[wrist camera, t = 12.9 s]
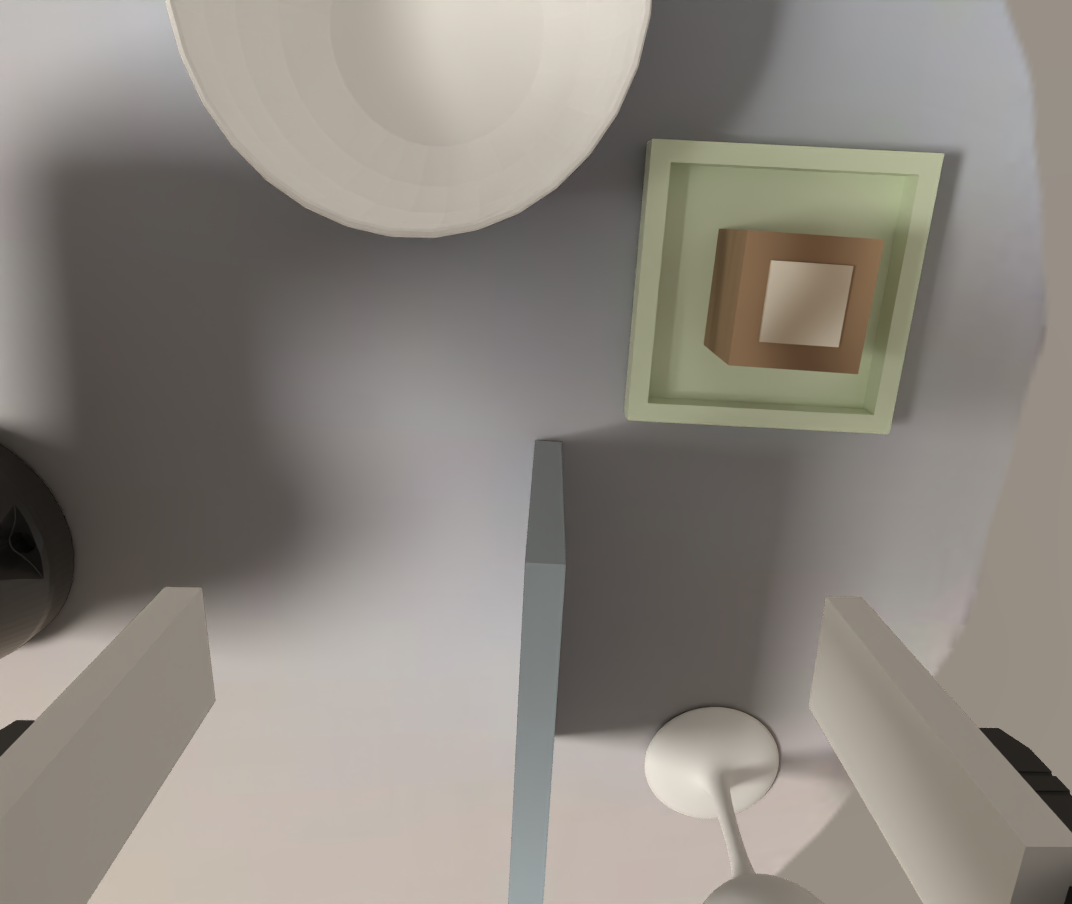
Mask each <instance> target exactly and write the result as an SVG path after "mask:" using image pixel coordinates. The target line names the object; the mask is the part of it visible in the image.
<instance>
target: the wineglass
mask: <svg viewBox="0 0 1072 904" xmlns="http://www.w3.org/2000/svg"><path fill="white" fill-rule="evenodd" d="M778 766H779V754H778V749H777V745H776V743H775V740H774V738H773V737H772V735H771V733H770V732H769V731H768V729H767V728H766V727H765V726H764V725H763V724H762V723H760V722H759V721H758V720H757V719H755V718H753V717H752V716H750V715H748V714H746V713H744V712H741V711H738V710H735V709H731V708H724V707H705V708H699V709H695V710H691V711H688V712H685V713H683V714H681V715H679V716H677V717H675V718H673V719H672V720H670V721H669V722H668V723H666V724H665V725H664V726H663V727H662V728H661V729H660V730H659V731H658V732H657V733H656V735H655V736H654V737H653V739H652V741H651V742H650V744H649V747H648V749H647V752H646V756H645V775H646V779H647V782H648V784H649V786H650V788H651V790H652V791H653V793H654V794H655V796H656V797H657V798H658V799H659V800H660V801H661V802H662V803H664V804H665V805H666V806H668V807H669V808H671V809H673V810H674V811H676V812H679V813H681V814H684V815H687V816H691V817H696V818H705V819H713V818H718V819H719V822H720V825H721V828H722V831H723V835H724V838H725V842H726V846H727V850H728V854H729V858H730V863H731V869H732V879H731V880H729V881H727V882H725V883H724V884H722V885H721V886H720V887H718V888H717V889H716V890H714V891H713V892H712V893H711V894H710V896H709V897H708V898H707V899H706V900H705V901H704V903H703V904H824V903H823V902H822V901H821V900H820V899H819V898H817V897H816V896H815V895H814V894H812V893H811V892H810V891H808V890H806V889H805V888H803V887H801V886H800V885H798V884H796V883H794V882H792V881H789V880H787V879H784V878H781V877H778V876H773V875H768V874H756V873H755V872H754V870H753V868H752V865H751V863H750V861H749V858H748V856H747V853H746V850H745V847H744V844H743V841H742V838H741V835H740V832H739V828H738V824H737V821H736V817H735V814H737V813H739V812H742V811H744V810H746V809H748V808H749V807H751V806H752V805H754V804H755V803H757V802H758V801H759V800H760V799H761V798H762V797H763V796H764V795H765V794H766V793H767V791H768V790H769V789H770V787H771V786H772V784H773V782H774V780H775V778H776V775H777V771H778Z"/></svg>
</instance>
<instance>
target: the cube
mask: <svg viewBox="0 0 1072 904" xmlns="http://www.w3.org/2000/svg"><path fill="white" fill-rule="evenodd" d="M883 245H884V239H870V238H855V237H841V236H826V235H812V234H797V233H783V232H768V231H754V230H736V229H719V231H718V239H717V246H716V254H715V262H714V269H713V277H712V284H711V292H710V299H709V307H708V314H707V322H706V329H705V337H704V346H706V347H707V348H708V349H709V350H710V351H712V352H713V353H714V354H715V355H716V356H718V357H719V358H720V359H721V360H723V361H724V362H725V363H726V364H727V365H731V366H746V367H760V368H775V369H789V370H803V371H818V372H832V373H847V374H858V372H859V367H860V362H861V357H862V352H863V347H864V341H865V336H866V331H867V326H868V321H869V316H870V311H871V306H872V301H873V296H874V290H875V285H876V280H877V275H878V270H879V265H880V260H881V255H882V250H883Z"/></svg>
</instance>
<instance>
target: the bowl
mask: <svg viewBox="0 0 1072 904" xmlns="http://www.w3.org/2000/svg"><path fill="white" fill-rule="evenodd" d="M165 2H166V6H167V10H168V14H169V17H170V21H171V24H172V28H173V31H174V35H175V39H176V42H177V46H178V49H179V53H180V56H181V58H182V61H183V63H184V65H185V67H186V69H187V71H188V73H189V75H190V78H191V80H192V82H193V84H194V86H195V88H196V90H197V93H198V95H199V97H200V99H201V101H202V103H203V105H204V106H205V108H206V109H207V111H208V112H209V113H210V115H211V116H212V118H213V119H214V121H215V122H216V124H217V125H218V126H219V128H220V129H221V131H222V132H223V134H224V135H225V137H226V138H227V139H228V141H229V142H230V144H231V145H232V146H233V147H234V148H235V149H236V150H237V151H238V152H239V153H240V154H241V155H242V156H243V157H244V158H245V160H246V161H247V162H248V163H249V164H250V165H251V166H252V167H253V168H254V169H255V170H256V171H257V172H258V173H259V174H260V175H261V176H262V177H263V178H264V179H265V180H266V181H268V182H269V183H270V184H272V185H273V186H275V187H276V188H278V189H279V190H280V191H282V192H283V193H285V194H286V195H288V196H289V197H290V198H292V199H293V200H295V201H296V202H297V203H299V204H300V205H302V206H303V207H305V208H307V209H309V210H311V211H313V212H315V213H318V214H320V215H322V216H324V217H326V218H329V219H331V220H333V221H335V222H338V223H340V224H342V225H344V226H346V227H350V228H355V229H359V230H363V231H367V232H372V233H376V234H380V235H384V236H389V237H413V238H437V237H443V236H449V235H454V234H460V233H465V232H471V231H476V230H479V229H482V228H484V227H487V226H489V225H492V224H494V223H497V222H499V221H502V220H504V219H507V218H509V217H512V216H514V215H517V214H519V213H520V212H522V211H523V210H525V209H526V208H528V207H529V206H531V205H532V204H534V203H535V202H537V201H538V200H540V199H541V198H543V197H544V196H546V195H547V194H549V193H550V192H552V191H553V190H555V189H556V188H558V187H559V186H560V185H561V184H562V183H563V182H564V181H565V180H566V179H567V178H568V177H569V176H570V175H571V174H572V173H573V172H574V171H575V170H576V169H577V168H578V167H579V166H580V165H581V164H582V163H583V162H584V161H585V160H586V159H587V158H588V157H589V156H590V154H591V153H592V151H593V150H594V148H595V147H596V146H597V144H598V143H599V141H600V140H601V138H602V137H603V135H604V134H605V132H606V131H607V129H608V128H609V126H610V125H611V123H612V122H613V121H614V119H615V118H616V116H617V115H618V113H619V110H620V108H621V106H622V103H623V101H624V99H625V97H626V94H627V92H628V90H629V88H630V85H631V83H632V81H633V78H634V76H635V74H636V72H637V69H638V67H639V63H640V58H641V54H642V50H643V46H644V42H645V38H646V34H647V30H648V25H649V21H650V17H651V6H652V0H165Z"/></svg>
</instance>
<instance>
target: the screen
mask: <svg viewBox="0 0 1072 904" xmlns="http://www.w3.org/2000/svg"><path fill="white" fill-rule="evenodd" d="M565 570H566V554H565V527H564V499H563V472H562V444H561V442H558V441H539V440H535V448H534V460H533V472H532V484H531V496H530V508H529V520H528V532H527V544H526V556H525V573H524V593H523V613H522V633H521V654H520V674H519V694H518V714H517V735H516V755H515V775H514V795H513V816H512V836H511V856H510V876H509V897H508V904H543V898H544V883H545V868H546V853H547V838H548V824H549V809H550V794H551V779H552V764H553V749H554V734H555V719H556V704H557V689H558V675H559V660H560V645H561V630H562V615H563V600H564V585H565Z"/></svg>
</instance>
